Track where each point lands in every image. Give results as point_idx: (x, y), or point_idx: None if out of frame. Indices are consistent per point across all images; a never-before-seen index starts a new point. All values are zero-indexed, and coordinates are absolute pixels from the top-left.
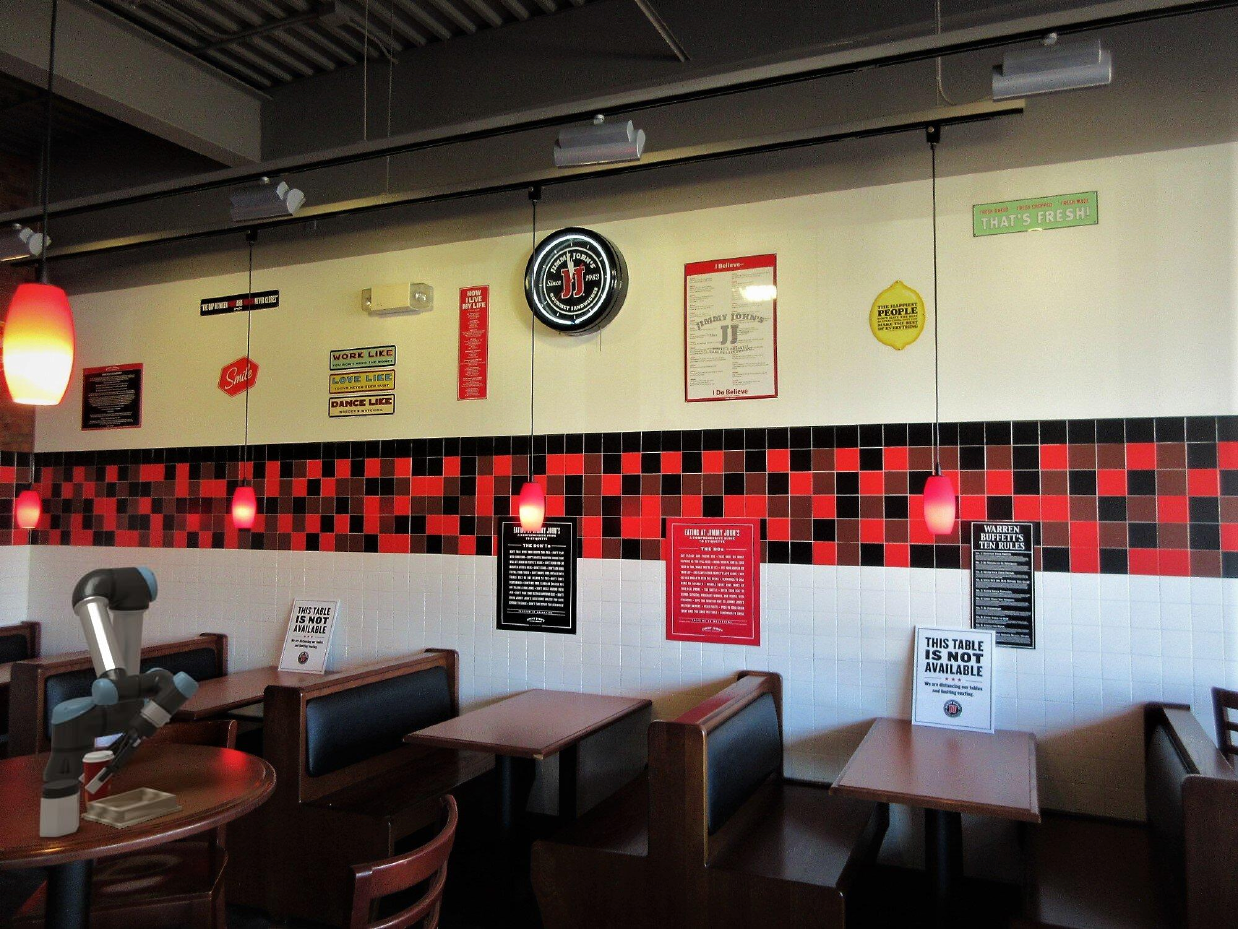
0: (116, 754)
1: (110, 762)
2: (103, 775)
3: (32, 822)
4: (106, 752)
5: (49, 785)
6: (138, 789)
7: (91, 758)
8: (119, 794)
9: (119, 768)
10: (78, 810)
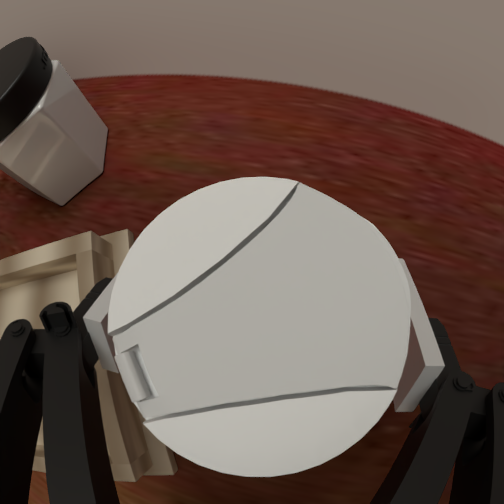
0: (67, 437)
1: (69, 361)
2: (85, 302)
3: (226, 117)
4: (250, 419)
5: (8, 52)
6: (118, 454)
7: (157, 219)
8: (100, 369)
9: (22, 378)
10: (21, 180)
